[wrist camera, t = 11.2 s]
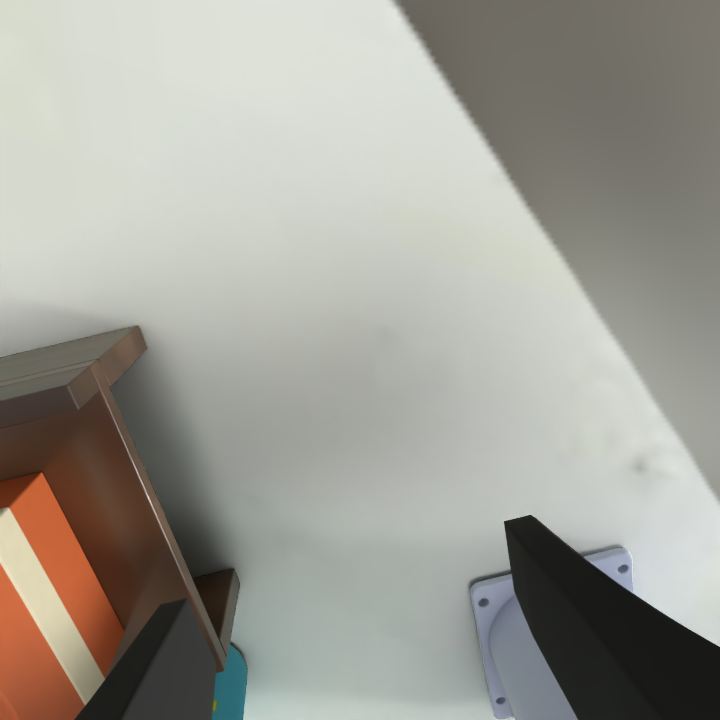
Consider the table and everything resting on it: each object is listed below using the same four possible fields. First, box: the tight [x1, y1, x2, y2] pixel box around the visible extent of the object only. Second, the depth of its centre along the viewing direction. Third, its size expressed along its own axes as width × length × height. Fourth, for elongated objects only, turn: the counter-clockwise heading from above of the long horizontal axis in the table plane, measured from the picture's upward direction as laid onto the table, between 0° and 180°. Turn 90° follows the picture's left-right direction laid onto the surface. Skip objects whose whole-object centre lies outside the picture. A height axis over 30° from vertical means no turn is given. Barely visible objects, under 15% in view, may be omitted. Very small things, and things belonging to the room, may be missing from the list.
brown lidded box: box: [0, 326, 240, 679], centre depth 19 cm, size 13×9×6 cm
